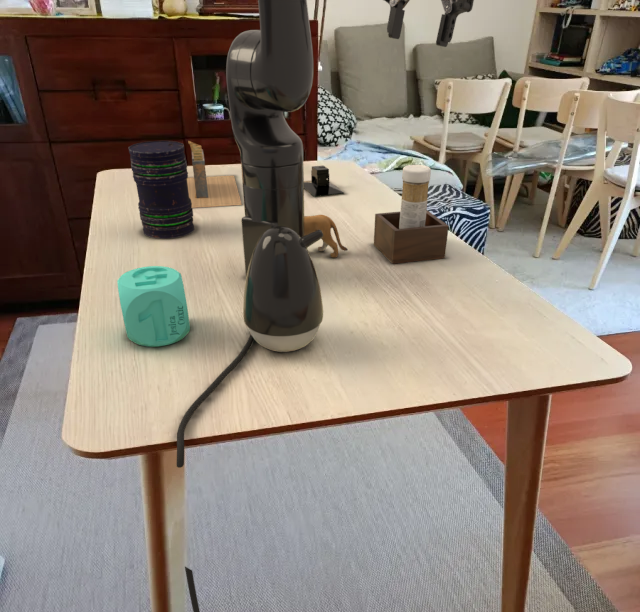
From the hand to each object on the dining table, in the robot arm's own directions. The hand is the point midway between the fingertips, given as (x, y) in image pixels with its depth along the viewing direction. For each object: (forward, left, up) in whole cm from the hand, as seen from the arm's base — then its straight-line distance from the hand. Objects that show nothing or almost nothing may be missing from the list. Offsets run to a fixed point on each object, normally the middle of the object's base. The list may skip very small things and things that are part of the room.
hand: (417, 42), depth 90 cm
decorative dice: (-47, +13, -31) cm, 58 cm away
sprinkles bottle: (0, -2, -31) cm, 31 cm away
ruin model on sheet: (+9, +55, -31) cm, 64 cm away
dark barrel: (-15, +42, -31) cm, 55 cm away
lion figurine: (-12, +13, -31) cm, 36 cm away
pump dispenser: (-40, -3, -31) cm, 51 cm away
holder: (-1, -2, -31) cm, 31 cm away
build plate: (+25, +33, -31) cm, 52 cm away
